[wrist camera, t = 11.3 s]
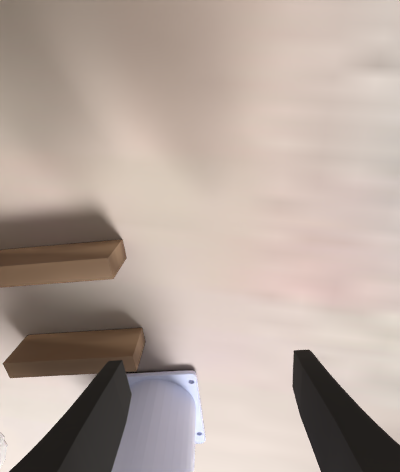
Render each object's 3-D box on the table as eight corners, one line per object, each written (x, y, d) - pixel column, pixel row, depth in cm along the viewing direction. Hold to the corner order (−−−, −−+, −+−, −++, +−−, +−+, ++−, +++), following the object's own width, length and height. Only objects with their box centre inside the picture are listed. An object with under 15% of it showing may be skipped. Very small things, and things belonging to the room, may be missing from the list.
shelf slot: (145, 341, 23) (136, 371, 20) (33, 348, 23) (10, 378, 21) (122, 239, 19) (107, 257, 17) (-9, 250, 20) (-44, 270, 17)
